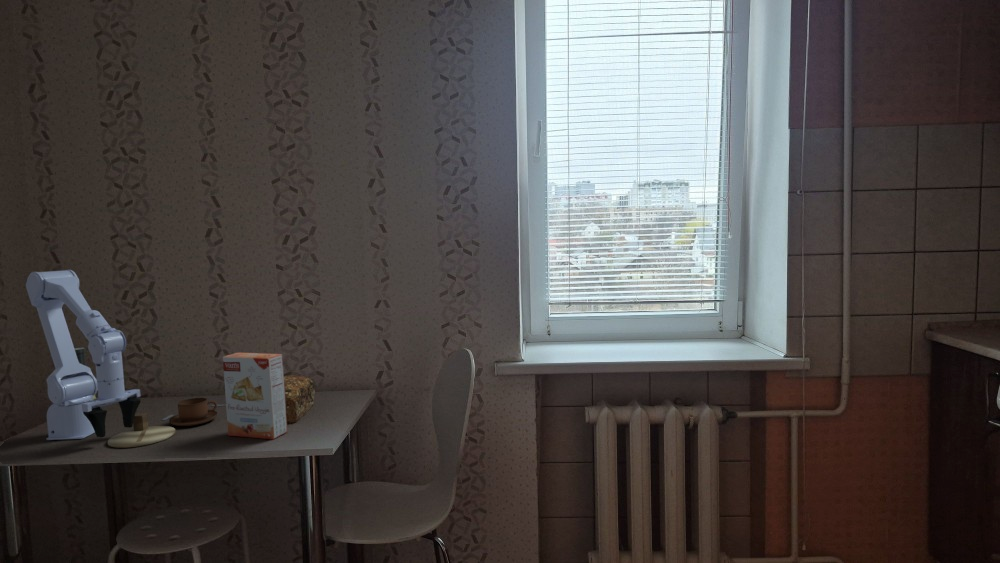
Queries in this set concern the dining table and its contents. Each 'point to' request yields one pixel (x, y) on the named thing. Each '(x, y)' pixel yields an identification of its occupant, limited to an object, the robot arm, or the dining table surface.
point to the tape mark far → (219, 405)
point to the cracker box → (255, 395)
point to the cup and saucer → (193, 412)
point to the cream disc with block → (141, 434)
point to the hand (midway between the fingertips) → (114, 431)
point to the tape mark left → (167, 417)
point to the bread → (298, 396)
